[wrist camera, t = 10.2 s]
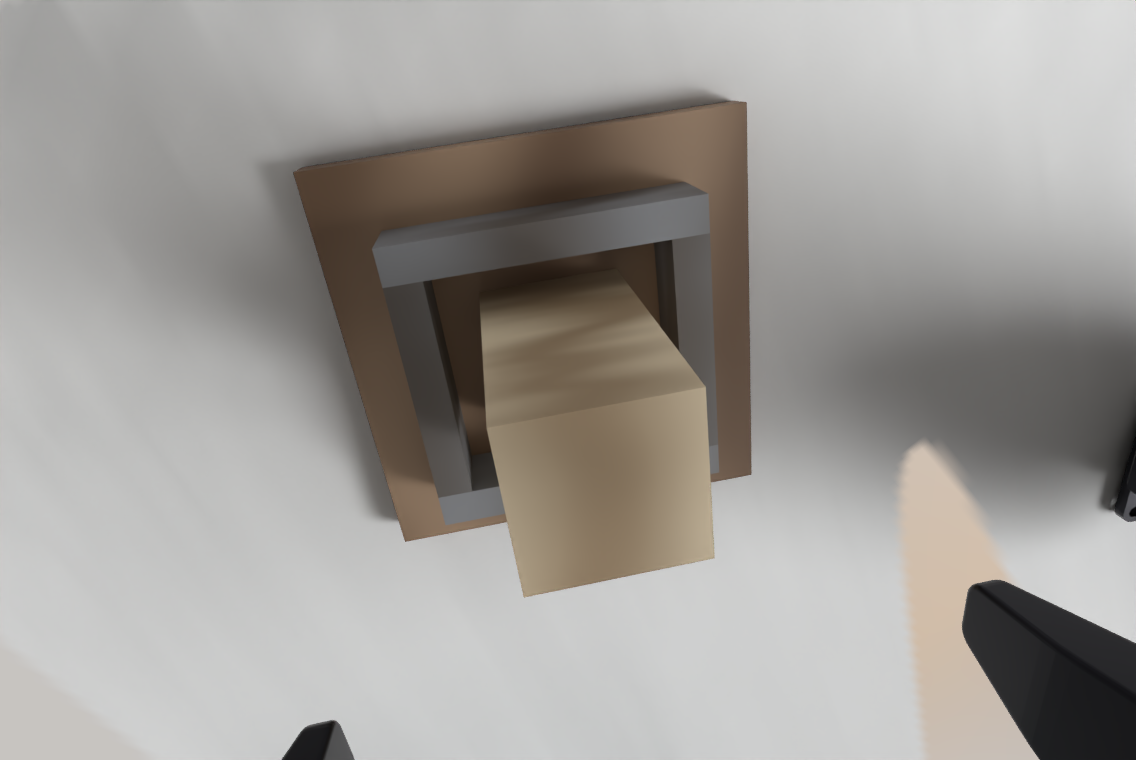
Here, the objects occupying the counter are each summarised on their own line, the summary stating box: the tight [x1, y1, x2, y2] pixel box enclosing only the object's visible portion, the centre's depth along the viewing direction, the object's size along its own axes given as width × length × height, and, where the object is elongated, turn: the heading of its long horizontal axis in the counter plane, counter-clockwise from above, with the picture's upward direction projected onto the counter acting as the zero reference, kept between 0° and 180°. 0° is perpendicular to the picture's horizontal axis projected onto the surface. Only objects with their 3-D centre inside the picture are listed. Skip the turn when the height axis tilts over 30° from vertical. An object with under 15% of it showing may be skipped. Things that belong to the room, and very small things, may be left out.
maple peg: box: [479, 269, 714, 597], centre depth 16 cm, size 4×4×8 cm
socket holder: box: [293, 101, 751, 542], centre depth 19 cm, size 12×12×3 cm
